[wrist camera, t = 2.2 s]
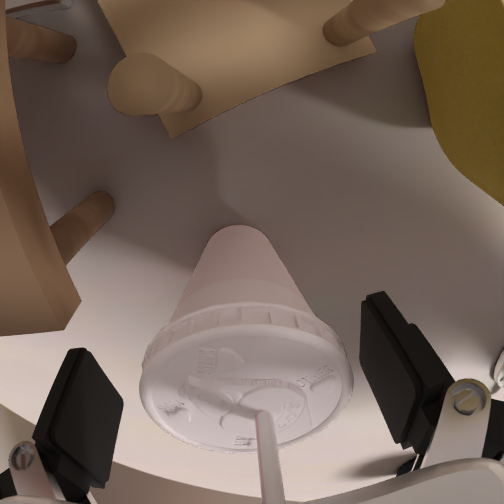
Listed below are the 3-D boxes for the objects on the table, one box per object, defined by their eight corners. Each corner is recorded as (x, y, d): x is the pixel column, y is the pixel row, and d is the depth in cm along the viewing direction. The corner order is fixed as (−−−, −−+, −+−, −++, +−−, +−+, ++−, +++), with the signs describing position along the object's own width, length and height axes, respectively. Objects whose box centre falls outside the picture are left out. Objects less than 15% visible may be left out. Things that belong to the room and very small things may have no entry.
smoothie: (256, 321, 19) (286, 561, 6) (160, 275, 17) (88, 534, 5) (321, 237, 17) (456, 491, 4) (216, 175, 15) (164, 489, 2)
